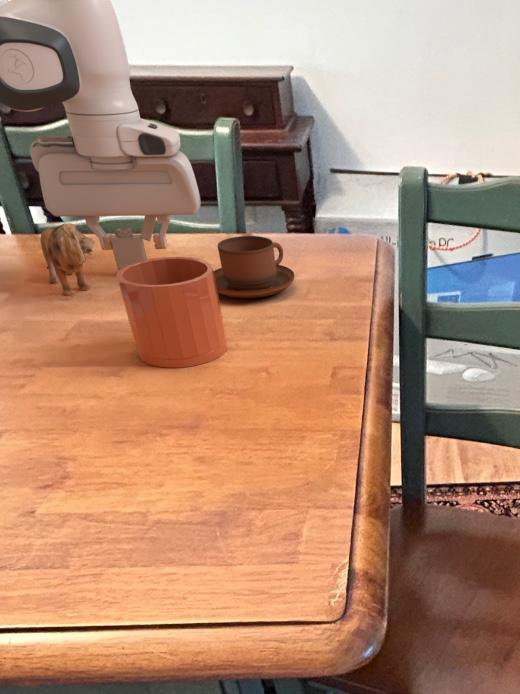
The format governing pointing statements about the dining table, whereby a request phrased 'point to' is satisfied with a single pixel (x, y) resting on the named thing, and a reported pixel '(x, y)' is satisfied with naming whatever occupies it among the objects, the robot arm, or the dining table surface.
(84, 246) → the lion figurine
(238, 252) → the cup and saucer
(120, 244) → the lighter
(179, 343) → the terracotta-colored cup
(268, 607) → the dining table surface
